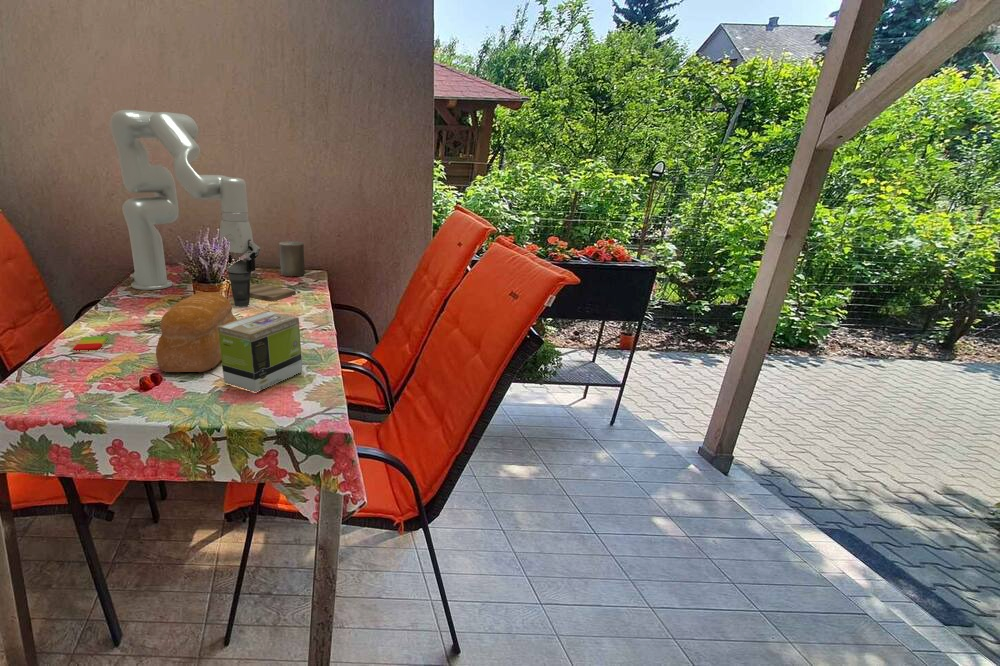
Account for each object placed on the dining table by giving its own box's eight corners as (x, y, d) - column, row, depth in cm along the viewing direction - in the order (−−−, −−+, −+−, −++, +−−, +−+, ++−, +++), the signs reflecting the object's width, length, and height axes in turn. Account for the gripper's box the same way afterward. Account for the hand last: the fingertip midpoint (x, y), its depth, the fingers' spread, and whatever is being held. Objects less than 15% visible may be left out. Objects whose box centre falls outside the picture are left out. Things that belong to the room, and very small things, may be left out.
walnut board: (232, 293, 192) (232, 289, 192) (257, 287, 203) (256, 283, 203) (272, 301, 187) (272, 297, 187) (295, 294, 198) (295, 290, 198)
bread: (244, 339, 151) (240, 287, 146) (213, 375, 126) (207, 314, 122) (193, 338, 148) (187, 285, 144) (151, 375, 124) (142, 313, 119)
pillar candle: (309, 276, 227) (307, 241, 223) (287, 278, 220) (285, 242, 216) (298, 271, 234) (296, 237, 229) (276, 273, 227) (274, 238, 222)
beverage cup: (242, 309, 176) (238, 249, 170) (225, 305, 178) (220, 246, 172) (258, 304, 183) (254, 246, 177) (241, 301, 185) (237, 244, 179)
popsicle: (72, 356, 131) (70, 349, 131) (90, 336, 144) (89, 330, 144) (99, 354, 133) (97, 347, 133) (114, 335, 146) (113, 329, 146)
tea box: (272, 364, 135) (268, 309, 130) (303, 373, 132) (301, 316, 127) (222, 385, 122) (216, 324, 117) (255, 395, 118) (251, 333, 114)
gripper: (205, 215, 170) (209, 267, 176) (248, 221, 165) (251, 274, 171) (223, 213, 177) (227, 264, 183) (265, 219, 172) (268, 271, 178)
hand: (239, 269), depth 177 cm, fingers open, 9 cm apart
